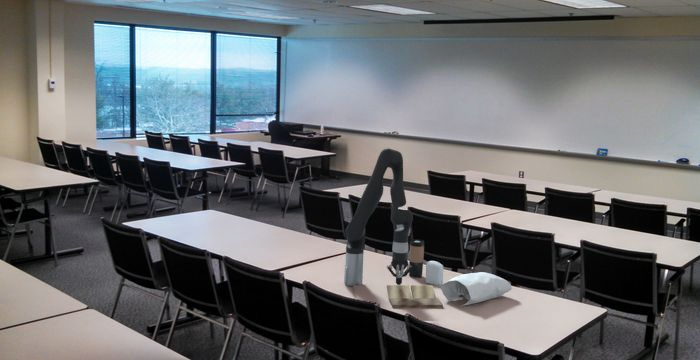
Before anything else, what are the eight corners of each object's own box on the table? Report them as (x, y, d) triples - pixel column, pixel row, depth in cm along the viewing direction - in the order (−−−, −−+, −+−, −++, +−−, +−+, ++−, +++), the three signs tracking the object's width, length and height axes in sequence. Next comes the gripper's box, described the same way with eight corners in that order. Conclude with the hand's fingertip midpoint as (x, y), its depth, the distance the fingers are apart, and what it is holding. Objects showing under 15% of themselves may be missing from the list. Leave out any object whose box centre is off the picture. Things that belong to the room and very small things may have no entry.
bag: (517, 293, 319) (479, 291, 294) (489, 313, 328) (450, 313, 303) (499, 261, 329) (460, 257, 304) (472, 282, 338) (432, 280, 313)
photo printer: (424, 282, 341) (425, 259, 339) (429, 280, 344) (430, 258, 342) (438, 287, 333) (439, 264, 332) (443, 286, 336) (445, 263, 334)
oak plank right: (413, 300, 308) (413, 298, 308) (410, 287, 316) (410, 285, 315) (435, 300, 310) (436, 298, 309) (432, 287, 317) (432, 285, 316)
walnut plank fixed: (392, 307, 298) (392, 304, 297) (389, 301, 306) (389, 298, 306) (442, 307, 300) (442, 304, 300) (438, 301, 309) (438, 298, 309)
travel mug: (423, 275, 354) (425, 240, 351) (420, 278, 347) (422, 243, 344) (410, 273, 356) (412, 238, 353) (407, 277, 349) (408, 241, 346)
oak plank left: (388, 300, 307) (389, 298, 306) (386, 287, 315) (386, 285, 314) (411, 300, 308) (411, 298, 308) (408, 287, 316) (408, 285, 315)
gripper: (388, 252, 306) (386, 287, 309) (415, 252, 308) (413, 286, 310) (385, 248, 314) (384, 282, 316) (412, 248, 315) (410, 282, 318)
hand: (398, 284), depth 313 cm, fingers closed
